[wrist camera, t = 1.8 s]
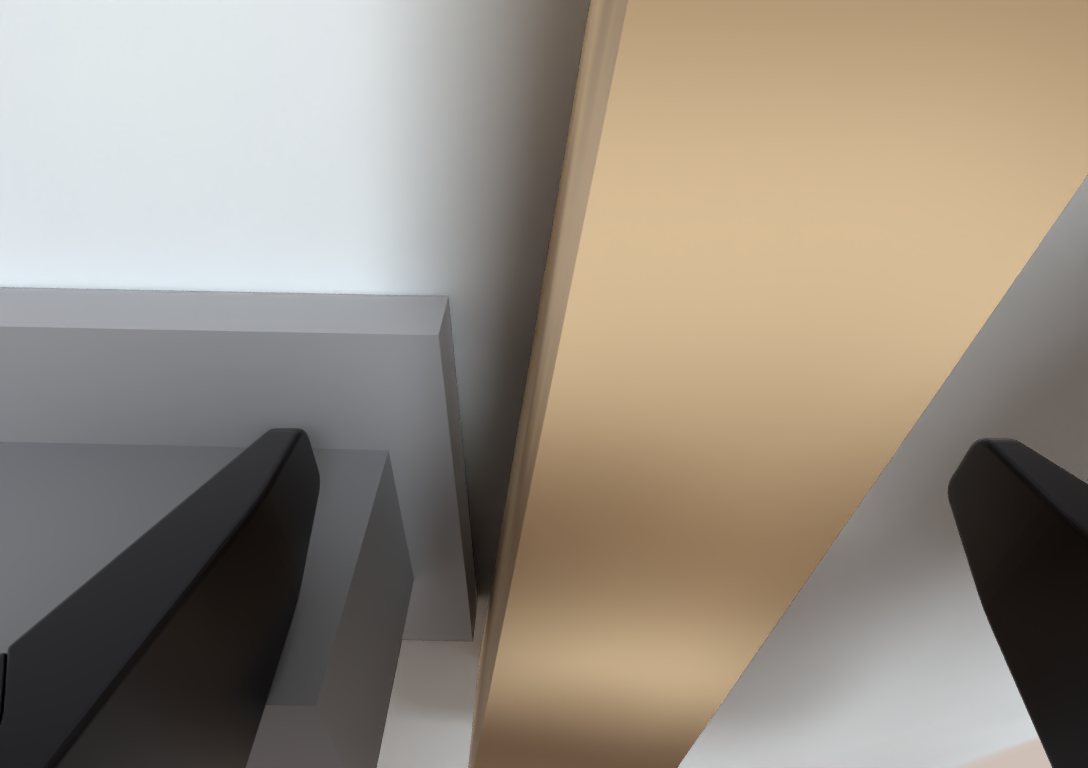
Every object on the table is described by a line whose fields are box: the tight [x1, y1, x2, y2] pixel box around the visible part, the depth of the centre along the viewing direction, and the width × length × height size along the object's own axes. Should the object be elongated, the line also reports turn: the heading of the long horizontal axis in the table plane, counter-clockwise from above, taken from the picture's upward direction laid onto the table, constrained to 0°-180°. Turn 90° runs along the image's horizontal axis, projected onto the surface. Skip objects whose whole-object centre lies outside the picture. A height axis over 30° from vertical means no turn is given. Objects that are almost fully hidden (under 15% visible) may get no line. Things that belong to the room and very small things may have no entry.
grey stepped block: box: [0, 287, 477, 768], centre depth 10 cm, size 14×8×5 cm, turn 89°
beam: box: [468, 0, 1088, 768], centre depth 9 cm, size 20×4×4 cm, turn 172°
